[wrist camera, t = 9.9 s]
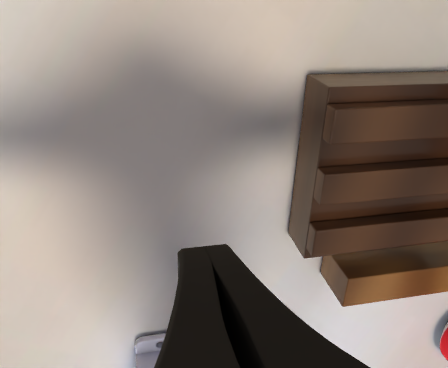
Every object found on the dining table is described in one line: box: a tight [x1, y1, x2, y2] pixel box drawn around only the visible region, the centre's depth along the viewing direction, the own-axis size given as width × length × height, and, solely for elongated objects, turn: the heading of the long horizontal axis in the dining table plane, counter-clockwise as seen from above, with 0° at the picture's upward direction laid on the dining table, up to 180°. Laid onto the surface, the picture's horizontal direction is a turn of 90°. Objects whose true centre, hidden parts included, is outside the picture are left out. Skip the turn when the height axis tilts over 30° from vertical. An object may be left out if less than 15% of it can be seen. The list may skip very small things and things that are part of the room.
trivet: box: [288, 71, 448, 258], centre depth 21 cm, size 9×9×3 cm
